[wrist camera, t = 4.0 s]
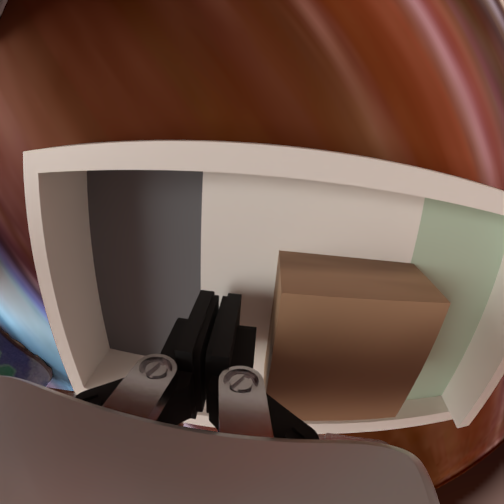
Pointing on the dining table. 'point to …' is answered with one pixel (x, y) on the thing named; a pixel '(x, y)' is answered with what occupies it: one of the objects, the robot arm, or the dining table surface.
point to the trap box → (256, 252)
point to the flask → (22, 362)
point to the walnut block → (348, 335)
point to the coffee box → (2, 5)
